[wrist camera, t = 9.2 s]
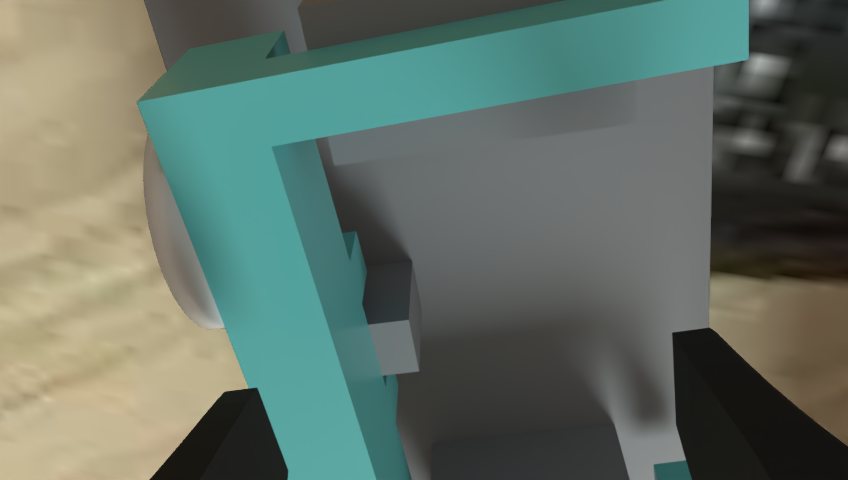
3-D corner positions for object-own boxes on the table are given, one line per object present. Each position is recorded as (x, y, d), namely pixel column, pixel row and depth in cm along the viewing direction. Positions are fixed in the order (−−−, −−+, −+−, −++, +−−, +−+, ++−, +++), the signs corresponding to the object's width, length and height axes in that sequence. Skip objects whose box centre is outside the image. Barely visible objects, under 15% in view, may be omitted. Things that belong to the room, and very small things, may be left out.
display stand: (325, 517, 28) (299, 680, 23) (141, -69, 19) (26, -16, 14) (695, 480, 27) (755, 644, 22) (701, -166, 18) (812, -149, 12)
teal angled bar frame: (361, 529, 25) (342, 699, 20) (190, 33, 17) (98, 120, 13) (696, 488, 24) (758, 657, 19) (671, -64, 16) (764, -7, 12)
